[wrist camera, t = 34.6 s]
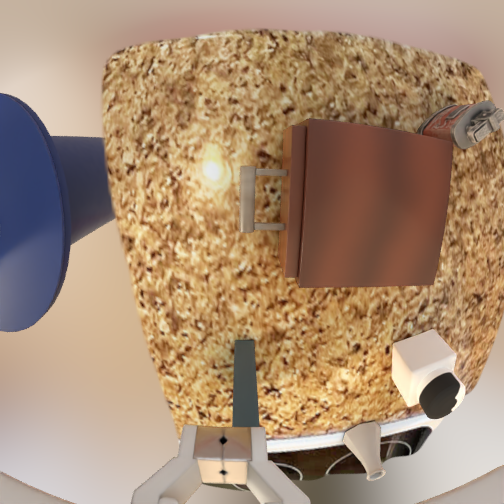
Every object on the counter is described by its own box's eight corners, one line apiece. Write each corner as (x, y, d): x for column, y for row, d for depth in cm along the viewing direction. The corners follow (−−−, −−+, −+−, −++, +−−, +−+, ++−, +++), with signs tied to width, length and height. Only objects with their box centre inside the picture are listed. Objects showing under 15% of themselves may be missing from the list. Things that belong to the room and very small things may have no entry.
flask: (379, 415, 44) (397, 458, 34) (381, 436, 46) (397, 475, 37) (339, 430, 45) (352, 475, 35) (344, 449, 47) (357, 491, 37)
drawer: (238, 256, 33) (238, 277, 28) (241, 128, 29) (240, 122, 24) (390, 258, 34) (413, 276, 29) (402, 143, 30) (429, 143, 24)
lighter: (451, 99, 29) (504, 92, 19) (464, 122, 30) (517, 121, 20) (412, 128, 30) (464, 126, 21) (426, 153, 31) (479, 158, 22)
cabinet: (287, 259, 35) (298, 287, 27) (293, 125, 30) (308, 118, 23) (402, 260, 35) (433, 285, 28) (415, 141, 31) (453, 142, 23)
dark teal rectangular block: (235, 385, 40) (233, 474, 26) (234, 339, 38) (232, 432, 24) (252, 385, 40) (256, 474, 26) (254, 340, 38) (259, 432, 24)
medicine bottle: (390, 377, 41) (421, 432, 30) (391, 342, 39) (429, 398, 28) (429, 363, 41) (465, 411, 29) (433, 327, 39) (476, 375, 27)
